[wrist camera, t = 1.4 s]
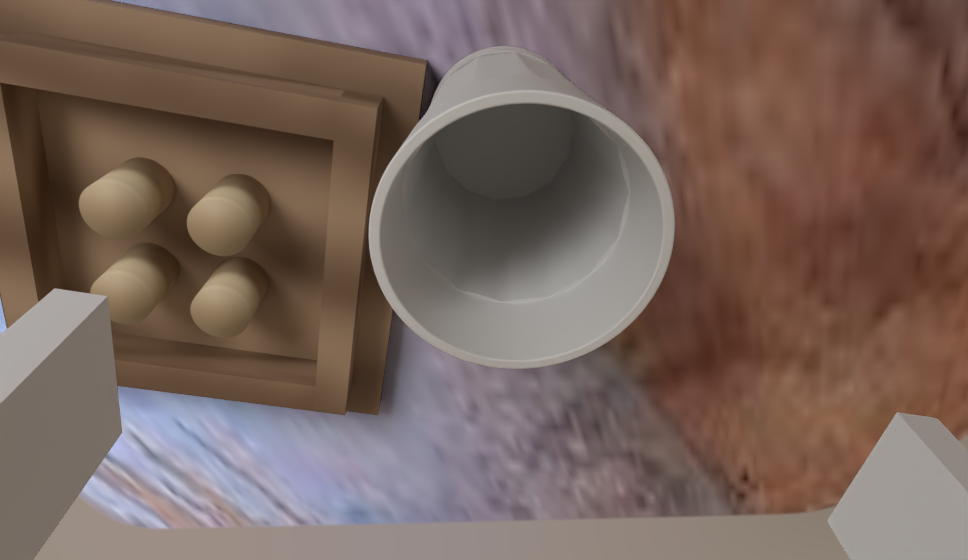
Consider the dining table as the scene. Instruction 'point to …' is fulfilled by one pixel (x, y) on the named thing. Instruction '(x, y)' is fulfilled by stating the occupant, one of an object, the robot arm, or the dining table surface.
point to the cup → (519, 217)
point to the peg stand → (203, 195)
